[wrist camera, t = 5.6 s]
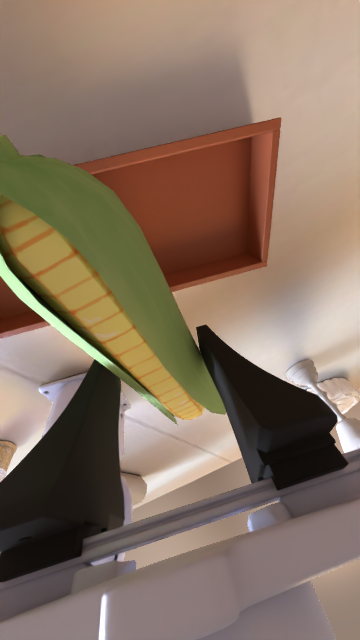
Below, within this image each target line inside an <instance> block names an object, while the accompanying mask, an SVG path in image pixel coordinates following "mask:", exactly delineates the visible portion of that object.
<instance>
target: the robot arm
mask: <svg viewBox="0 0 360 640" xmlns="http://www.w3.org/2000/svg"><path fill="white" fill-rule="evenodd" d="M196 330H197V336H198V343H199V349H200V352H201V355H202V358H203V361H204V364H205V366H206V368H207V370H208V372H209V374H210V376H211V378H212V380H213V382H214V384H215V386H216V389H217V391H218V393H219V395H220V397H221V399H222V402H223V404H224V407H225V410H226V412H227V415H228V417H229V420H230V423H231V426H232V428H233V431H234V434H235V437H236V440H237V442H238V445H239V448H240V451H241V454H242V457H243V459H244V462H245V465H246V468H247V471H248V474H249V477H250V480H251V483H252V484H249V485H247V486H243V487H240V488H237V489H234V490H231V491H228V492H225V493H222V494H219V495H216V496H213V497H210V498H207V499H204V500H201V501H198V502H195V503H192V504H188V505H185V506H182V507H180V508H176V509H174V510H170V511H167V512H164V513H162V514H158V515H155V516H152V517H149V518H146V519H143V520H140V521H137V522H134V523H132V520H133V503H132V495H131V491H130V488H129V486H128V484H127V481H126V479H125V478H124V477H123V476H121V474H120V464H121V462H122V459H123V454H124V411H125V410H128V409H130V408H131V405H130V403H129V402H128V400H127V399H126V397H125V396H124V394H123V393H122V391H121V381H120V378H119V377H118V376H116V375H115V374H114V373H113V372H111V371H110V370H109V369H107V368H106V367H105V366H103V365H102V364H101V363H100V362H98V361H97V360H96V359H94V361H93V363H92V365H91V367H90V368H89V370H88V372H86V373H83V374H79V375H76V376H72V377H69V378H66V379H62V380H59V381H55V382H52V383H48V384H45V385H42V386H40V388H39V391H40V392H41V393H42V394H44V395H45V396H46V397H47V398H48V399H49V400H50V401H52V402H53V404H52V407H51V411H50V414H49V417H48V420H47V423H46V426H45V429H44V432H43V435H42V438H41V440H40V441H39V442H38V443H37V445H36V446H35V447H34V448H33V449H32V450H31V451H30V452H29V453H28V455H27V456H26V457H25V458H24V459H23V460H22V461H21V462H20V463H19V464H18V465H17V466H16V467H15V468H14V469H13V470H12V471H11V472H10V473H9V474H8V475H7V476H6V477H5V478H4V479H3V480H2V481H1V482H0V640H337V639H336V636H335V634H334V632H333V630H332V628H331V625H330V623H329V621H328V619H327V616H326V614H325V612H324V610H323V607H322V605H321V603H320V601H319V599H318V596H317V594H316V592H315V589H314V587H313V585H312V583H311V580H312V579H314V578H316V577H319V576H321V575H323V574H326V573H328V572H331V571H333V570H335V569H338V568H340V567H342V566H345V565H347V564H349V563H351V562H354V561H356V560H358V559H360V448H359V449H356V450H353V451H350V452H347V453H344V454H341V453H340V451H339V450H338V449H337V447H336V446H335V445H334V443H336V442H335V439H334V438H333V437H332V436H331V434H330V431H331V430H332V429H333V427H334V426H335V424H336V423H337V420H338V418H337V415H336V414H335V413H334V411H333V410H332V409H331V408H330V407H329V406H328V405H327V404H326V403H325V402H324V401H323V400H322V399H321V398H320V397H319V396H318V395H316V394H314V393H311V392H309V391H306V390H304V389H301V388H299V387H296V386H294V385H292V384H290V383H288V382H286V381H283V380H281V379H280V378H278V377H276V376H274V375H272V374H270V373H268V372H266V371H264V370H263V369H261V368H259V367H258V366H256V365H254V364H253V363H251V362H250V361H248V360H247V359H245V358H244V357H243V356H241V355H240V354H238V353H237V352H236V351H234V350H233V349H232V348H231V347H229V346H228V345H227V344H226V343H225V342H224V341H222V340H221V339H220V338H219V337H218V336H217V335H216V334H215V333H214V332H213V331H212V330H211V329H210V328H209V327H208V326H207V325H203V326H199V327H196ZM277 500H278V503H275V504H271V505H269V506H267V507H265V508H262V509H260V510H258V511H256V512H254V513H251V514H249V515H248V520H249V521H248V523H247V525H248V528H249V531H250V532H249V533H245V534H242V535H239V536H236V537H233V538H229V539H226V540H223V541H220V542H217V543H213V544H210V545H207V546H204V547H201V548H198V549H195V550H192V551H189V552H186V553H183V554H180V555H177V556H174V557H171V558H168V559H165V560H162V561H159V562H157V563H154V564H151V565H148V566H146V567H143V568H140V569H137V570H136V562H135V560H132V561H125V562H124V557H125V554H126V552H127V551H129V550H132V549H135V548H137V547H141V546H144V545H146V544H150V543H152V542H155V541H158V540H161V539H164V538H167V537H170V536H173V535H176V534H179V533H182V532H185V531H188V530H191V529H194V528H197V527H200V526H203V525H206V524H209V523H211V522H215V521H218V520H221V519H224V518H227V517H229V516H233V515H236V514H238V513H241V512H245V511H247V510H250V509H253V508H256V507H259V506H262V505H265V504H268V503H271V502H274V501H277Z"/></svg>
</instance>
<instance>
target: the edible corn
mask: <svg viewBox="0 0 360 640" xmlns="http://www.w3.org/2000/svg"><path fill="white" fill-rule="evenodd" d="M0 276H1V277H2V278H3V280H4V281H5V282H6V283H7V284H8V286H9V287H10V288H11V289H12V290H13V292H14V293H15V294H16V295H17V296H18V297H19V299H21V300H22V301H23V302H24V303H25V304H27V305H28V306H29V307H30V308H32V309H33V310H34V311H35V312H36V313H38V314H39V315H40V316H41V317H42V318H44V319H45V320H46V321H47V322H48V323H50V324H51V325H52V326H53V327H54V328H56V329H57V330H58V331H59V332H61V333H62V334H63V335H64V336H65V337H67V338H68V339H69V340H71V341H72V342H73V343H75V344H76V345H77V346H79V347H80V348H81V349H82V350H84V351H85V352H86V353H88V354H89V355H90V356H92V357H93V358H94V359H96V360H97V361H98V362H100V363H101V364H102V365H103V366H105V367H106V368H107V369H109V370H110V371H111V372H113V373H114V374H115V375H116V376H118V377H119V378H120V379H121V380H123V381H124V382H125V383H126V384H128V385H129V386H130V387H131V388H133V389H134V390H135V391H136V392H138V393H139V394H140V395H141V396H143V397H144V398H145V399H146V400H148V401H149V402H150V403H151V404H153V405H154V406H155V407H156V408H157V409H159V410H160V411H161V412H162V413H163V414H165V415H166V416H167V417H168V418H169V419H171V420H172V421H173V422H174V423H175V424H177V422H176V419H175V418H174V415H175V416H177V417H179V418H181V419H183V420H191V419H193V418H195V417H198V416H200V415H202V413H203V411H204V408H206V409H207V410H209V411H210V412H212V413H217V414H223V415H225V413H226V410H225V407H224V404H223V402H222V399H221V397H220V395H219V393H218V391H217V389H216V386H215V384H214V382H213V380H212V378H211V376H210V374H209V372H208V370H207V368H206V366H205V364H204V361H203V358H202V355H201V353H200V351H199V349H198V347H197V345H196V343H195V341H194V339H193V337H192V335H191V333H190V331H189V329H188V327H187V325H186V323H185V321H184V319H183V316H182V314H181V312H180V310H179V308H178V306H177V303H176V301H175V299H174V297H173V295H172V292H171V290H170V288H169V286H168V284H167V281H166V279H165V277H164V275H163V273H162V271H161V269H160V267H159V264H158V262H157V260H156V258H155V256H154V254H153V252H152V250H151V248H150V246H149V244H148V242H147V240H146V238H145V236H144V234H143V232H142V230H141V228H140V226H139V225H138V223H137V222H136V221H135V219H134V218H133V217H132V215H131V214H130V213H129V211H128V210H127V208H126V207H125V206H124V204H123V203H122V202H121V200H120V199H119V198H118V196H117V195H116V194H115V192H114V191H113V190H111V189H110V188H109V187H107V186H106V185H105V184H103V183H102V182H101V181H99V180H98V179H96V178H95V177H94V176H92V175H91V174H90V173H88V172H87V171H85V170H83V169H80V168H78V167H75V166H73V165H71V164H68V163H66V162H63V161H61V160H58V159H56V158H46V157H44V156H42V155H32V156H21V155H20V154H19V153H18V151H17V150H16V148H15V147H14V146H13V144H12V143H11V142H10V140H9V139H8V138H7V136H6V135H1V136H0Z"/></svg>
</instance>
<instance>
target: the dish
mask: <svg viewBox="0 0 360 640" xmlns="http://www.w3.org/2000/svg"><path fill="white" fill-rule="evenodd" d="M280 127H281V117H280V118H275V119H271V120H267V121H262V122H258V123H254V124H249V125H245V126H241V127H236V128H232V129H228V130H223V131H219V132H215V133H210V134H206V135H202V136H197V137H193V138H189V139H184V140H180V141H176V142H171V143H167V144H163V145H158V146H154V147H150V148H145V149H141V150H137V151H132V152H128V153H124V154H119V155H115V156H111V157H106V158H102V159H98V160H93V161H89V162H85V163H80V164H76V165H73V166H75V167H78V168H80V169H83V170H85V171H87V172H88V173H90V174H91V175H92V176H94V177H95V178H96V179H98V180H99V181H101V182H102V183H103V184H105V185H106V186H107V187H109V188H110V189H111V190H113V191H114V192H115V194H116V195H117V196H118V198H119V199H120V200H121V202H122V203H123V204H124V206H125V207H126V208H127V210H128V211H129V213H130V214H131V215H132V217H133V218H134V219H135V221H136V222H137V223H138V225H139V226H140V228H141V230H142V232H143V234H144V236H145V238H146V240H147V242H148V244H149V246H150V248H151V250H152V252H153V254H154V256H155V258H156V260H157V262H158V264H159V267H160V269H161V271H162V273H163V275H164V277H165V279H166V281H167V284H168V286H169V288H170V290H171V292H174V291H177V290H181V289H185V288H188V287H192V286H196V285H199V284H203V283H207V282H210V281H214V280H218V279H221V278H225V277H229V276H232V275H236V274H240V273H243V272H247V271H251V270H254V269H258V268H262V267H265V266H267V259H268V249H269V239H270V229H271V219H272V209H273V199H274V188H275V178H276V168H277V158H278V148H279V138H280ZM49 325H51V324H50V323H48V322H47V321H46V320H45V319H44V318H42V317H41V316H40V315H39V314H38V313H36V312H35V311H34V310H33V309H32V308H30V307H29V306H28V305H27V304H25V303H24V302H23V301H22V300H21V299H19V297H18V296H17V295H16V294H15V293H14V292H13V290H12V289H11V288H10V287H9V286H8V284H7V283H6V282H5V281H4V280H3V278H2V277H1V276H0V339H1V338H5V337H9V336H12V335H16V334H20V333H23V332H27V331H31V330H34V329H38V328H42V327H45V326H49Z"/></svg>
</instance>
